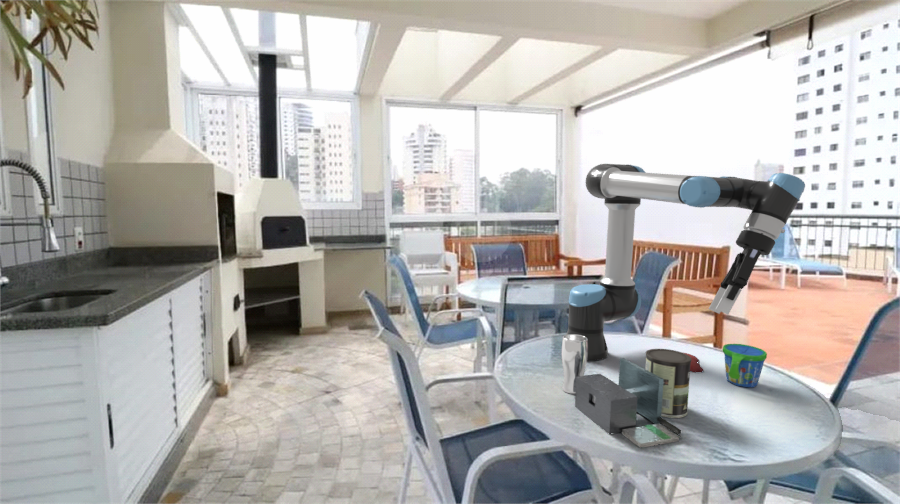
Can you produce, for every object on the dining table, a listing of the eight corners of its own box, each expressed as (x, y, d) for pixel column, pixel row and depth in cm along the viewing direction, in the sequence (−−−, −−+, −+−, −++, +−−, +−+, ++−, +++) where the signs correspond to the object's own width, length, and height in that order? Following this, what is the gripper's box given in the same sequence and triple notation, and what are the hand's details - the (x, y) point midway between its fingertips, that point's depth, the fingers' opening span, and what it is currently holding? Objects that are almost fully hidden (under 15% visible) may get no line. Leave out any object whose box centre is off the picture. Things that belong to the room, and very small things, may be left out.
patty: (704, 376, 133) (705, 369, 133) (654, 369, 139) (655, 363, 138) (697, 357, 149) (697, 351, 149) (652, 351, 155) (652, 346, 154)
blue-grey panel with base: (577, 404, 112) (579, 362, 111) (621, 398, 116) (623, 358, 115) (630, 446, 93) (633, 397, 92) (681, 437, 97) (684, 390, 95)
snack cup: (750, 396, 119) (753, 360, 117) (709, 383, 127) (711, 349, 126) (773, 383, 127) (777, 349, 126) (734, 371, 136) (736, 339, 135)
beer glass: (555, 386, 124) (556, 335, 122) (574, 383, 126) (577, 332, 125) (571, 397, 117) (573, 342, 116) (591, 392, 120) (593, 339, 118)
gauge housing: (575, 406, 112) (576, 376, 111) (620, 400, 116) (621, 371, 115) (628, 450, 92) (630, 414, 91) (680, 440, 96) (683, 406, 95)
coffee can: (680, 401, 115) (683, 349, 114) (693, 420, 105) (697, 364, 104) (638, 397, 117) (641, 346, 116) (647, 416, 107) (651, 360, 106)
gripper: (791, 233, 95) (743, 320, 97) (763, 247, 117) (725, 317, 119) (753, 220, 98) (708, 304, 100) (733, 236, 121) (696, 304, 122)
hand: (717, 311), depth 109 cm, fingers open, 13 cm apart
